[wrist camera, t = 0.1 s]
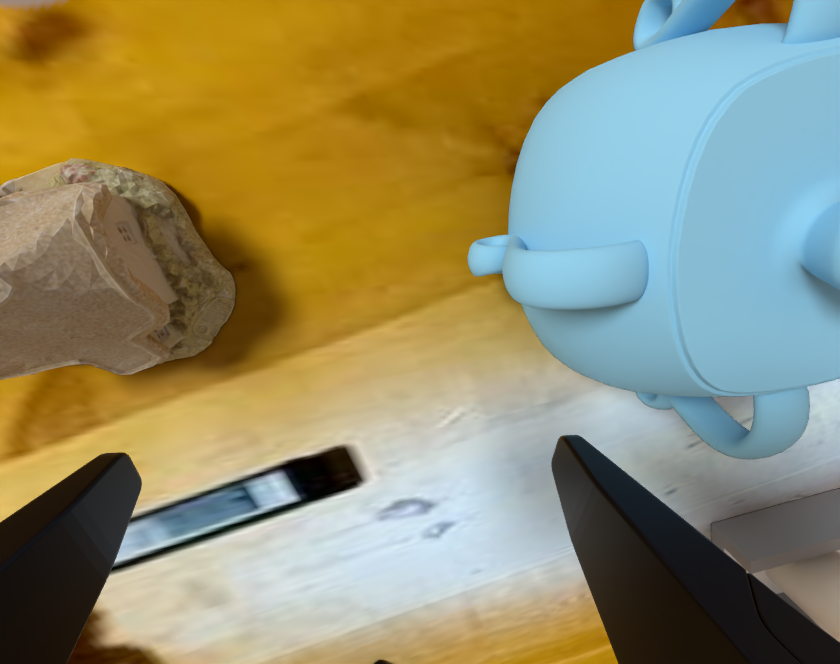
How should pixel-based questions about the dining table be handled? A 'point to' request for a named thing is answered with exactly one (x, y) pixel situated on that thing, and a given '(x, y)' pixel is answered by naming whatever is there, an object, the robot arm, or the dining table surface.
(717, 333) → the decorative pot
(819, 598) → the white capped canister
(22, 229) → the ceramic model
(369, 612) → the dining table surface
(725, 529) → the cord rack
